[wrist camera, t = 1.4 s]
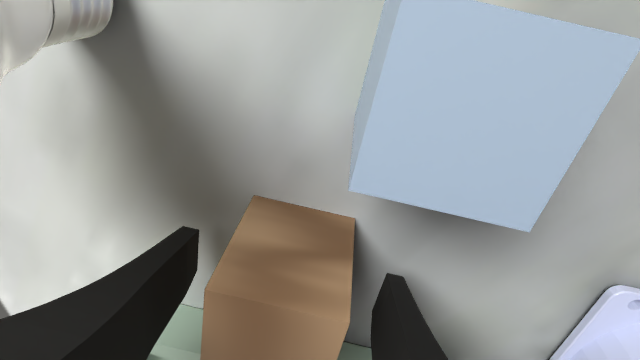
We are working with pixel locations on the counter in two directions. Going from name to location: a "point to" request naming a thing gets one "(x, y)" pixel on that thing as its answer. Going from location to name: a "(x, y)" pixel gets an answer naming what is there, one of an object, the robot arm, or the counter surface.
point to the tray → (186, 334)
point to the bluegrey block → (479, 107)
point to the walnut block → (281, 286)
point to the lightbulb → (46, 26)
